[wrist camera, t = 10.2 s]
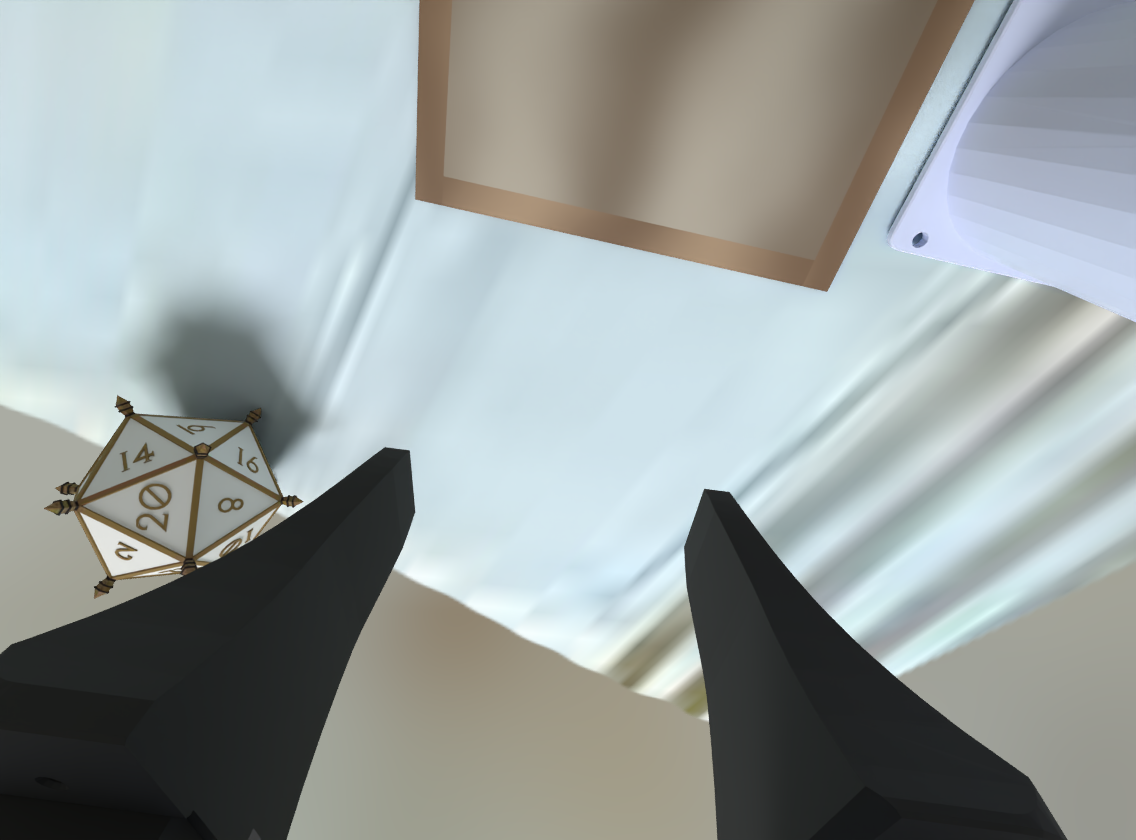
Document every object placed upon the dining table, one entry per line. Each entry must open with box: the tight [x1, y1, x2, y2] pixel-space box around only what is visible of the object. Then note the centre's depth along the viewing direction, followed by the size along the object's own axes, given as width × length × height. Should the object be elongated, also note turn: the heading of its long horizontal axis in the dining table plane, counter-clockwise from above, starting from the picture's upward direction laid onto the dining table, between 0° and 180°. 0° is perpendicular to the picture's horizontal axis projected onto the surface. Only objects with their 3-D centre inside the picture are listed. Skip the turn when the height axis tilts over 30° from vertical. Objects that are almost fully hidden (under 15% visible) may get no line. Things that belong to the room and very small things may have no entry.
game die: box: [44, 395, 303, 598], centre depth 22 cm, size 9×8×10 cm
